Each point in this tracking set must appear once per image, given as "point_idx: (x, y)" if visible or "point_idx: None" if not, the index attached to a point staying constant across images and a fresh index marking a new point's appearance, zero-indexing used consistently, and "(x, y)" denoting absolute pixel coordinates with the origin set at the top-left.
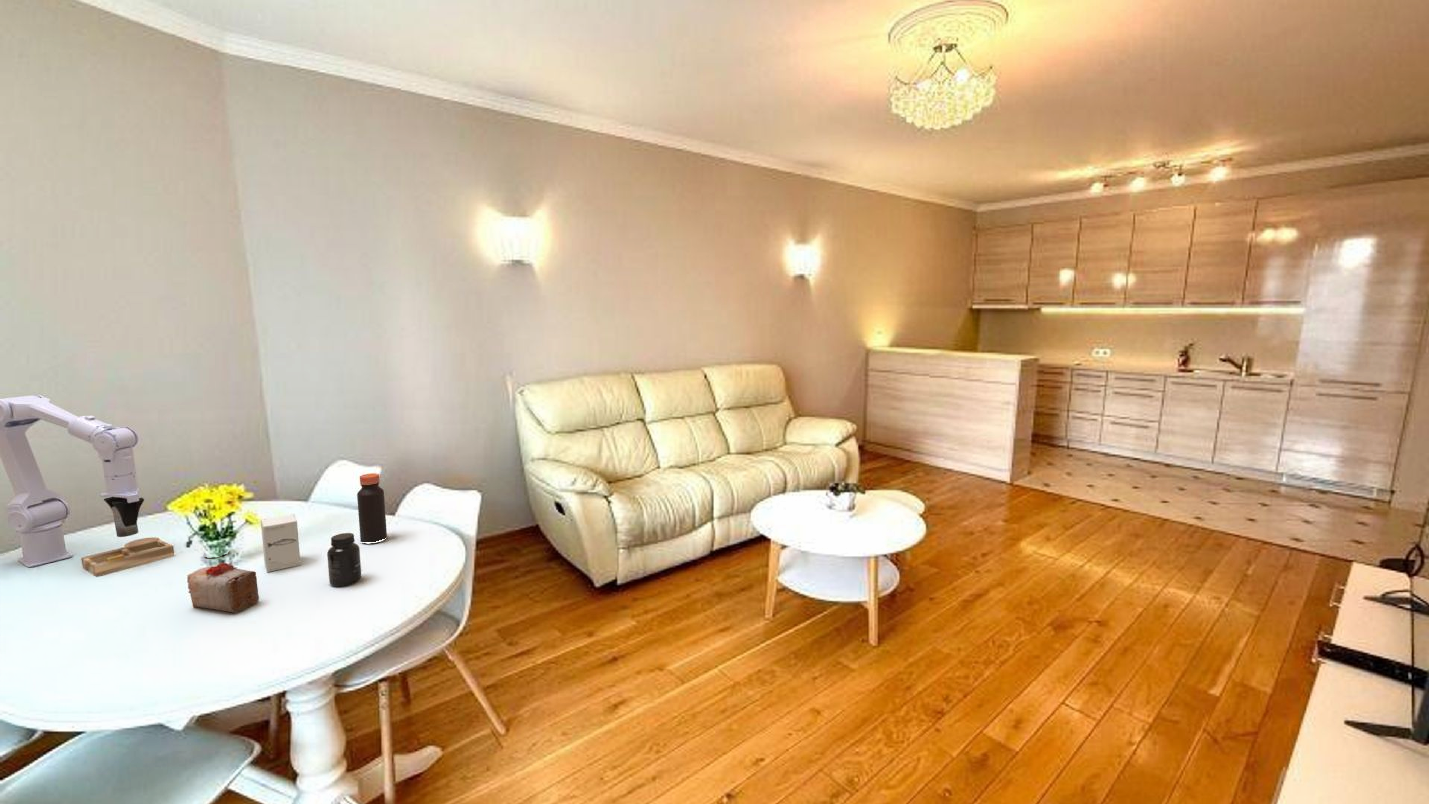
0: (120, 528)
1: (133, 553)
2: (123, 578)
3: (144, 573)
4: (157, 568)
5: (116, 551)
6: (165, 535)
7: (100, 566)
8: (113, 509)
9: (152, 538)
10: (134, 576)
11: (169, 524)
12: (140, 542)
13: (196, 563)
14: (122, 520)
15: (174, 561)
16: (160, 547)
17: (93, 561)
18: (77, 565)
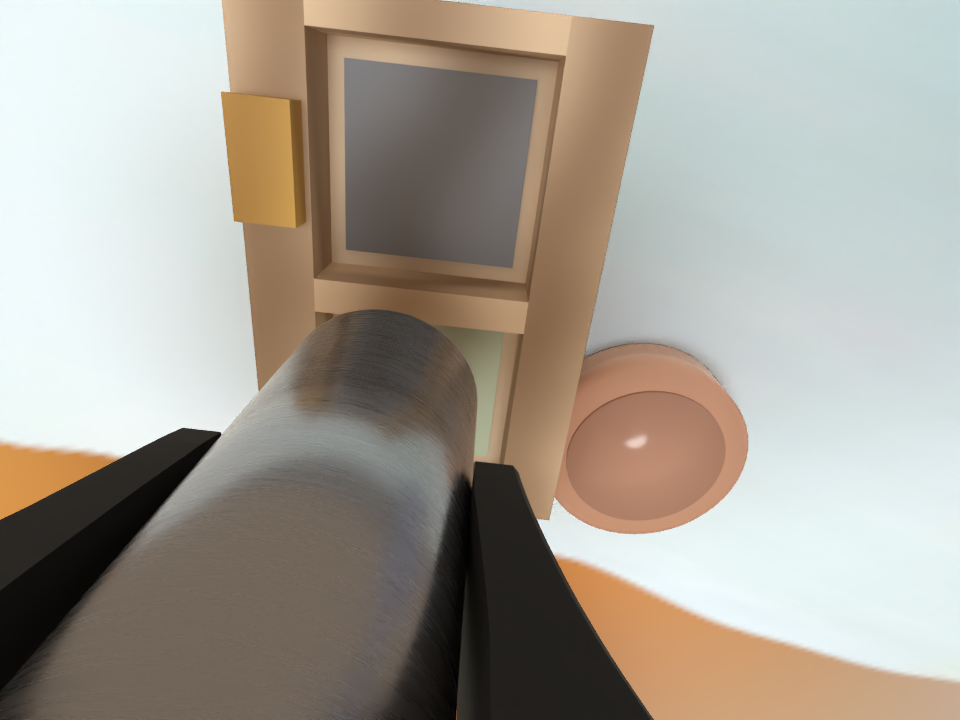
0: (270, 380)
1: (331, 304)
2: (56, 91)
3: (63, 213)
4: (111, 297)
5: (532, 269)
6: (761, 578)
7: (231, 23)
8: (92, 701)
9: (644, 514)
10: (44, 151)
11: (943, 663)
12: (635, 448)
13: (28, 432)
14: (104, 483)
15: (177, 399)
16: None
17: (402, 35)
18: (744, 47)
